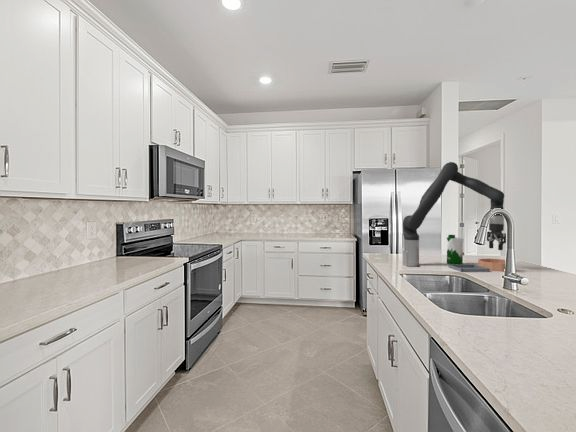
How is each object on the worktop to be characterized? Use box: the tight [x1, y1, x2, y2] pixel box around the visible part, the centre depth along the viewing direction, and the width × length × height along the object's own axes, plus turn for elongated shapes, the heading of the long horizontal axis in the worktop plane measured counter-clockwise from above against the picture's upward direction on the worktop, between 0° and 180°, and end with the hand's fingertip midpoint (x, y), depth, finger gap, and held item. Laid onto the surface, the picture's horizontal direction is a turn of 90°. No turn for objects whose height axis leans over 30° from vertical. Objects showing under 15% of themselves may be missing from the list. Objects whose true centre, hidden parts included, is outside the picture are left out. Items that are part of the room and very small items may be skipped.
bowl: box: [477, 258, 506, 273], centre depth 191 cm, size 18×18×6 cm
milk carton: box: [445, 234, 464, 265], centre depth 209 cm, size 9×9×20 cm
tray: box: [448, 263, 491, 273], centre depth 189 cm, size 16×14×2 cm
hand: (495, 249), depth 193 cm, fingers open, 8 cm apart
